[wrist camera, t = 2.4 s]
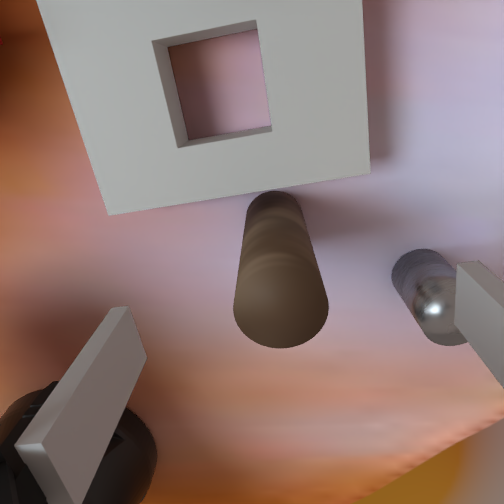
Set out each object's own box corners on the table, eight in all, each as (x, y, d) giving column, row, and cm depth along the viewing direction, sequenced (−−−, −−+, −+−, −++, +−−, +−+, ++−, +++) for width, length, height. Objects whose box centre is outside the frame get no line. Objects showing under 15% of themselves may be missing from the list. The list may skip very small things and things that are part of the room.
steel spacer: (392, 300, 29) (421, 349, 24) (390, 253, 28) (421, 294, 22) (445, 293, 29) (488, 341, 23) (447, 245, 27) (493, 285, 22)
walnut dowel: (251, 248, 28) (242, 353, 17) (241, 195, 26) (224, 274, 15) (305, 240, 28) (332, 342, 17) (298, 186, 26) (323, 260, 15)
